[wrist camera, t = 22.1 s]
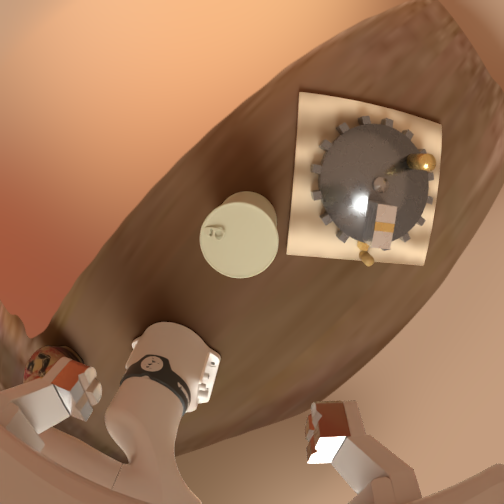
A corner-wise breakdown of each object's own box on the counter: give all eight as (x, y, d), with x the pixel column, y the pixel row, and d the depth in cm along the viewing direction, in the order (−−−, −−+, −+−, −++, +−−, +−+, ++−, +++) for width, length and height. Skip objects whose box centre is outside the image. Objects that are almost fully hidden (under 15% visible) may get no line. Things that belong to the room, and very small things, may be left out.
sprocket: (444, 205, 37) (468, 213, 31) (353, 271, 42) (366, 290, 35) (387, 96, 33) (407, 86, 26) (282, 162, 38) (284, 161, 31)
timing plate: (420, 263, 42) (431, 271, 38) (286, 252, 43) (287, 261, 39) (438, 125, 34) (451, 123, 31) (298, 93, 35) (301, 86, 32)
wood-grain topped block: (379, 241, 38) (390, 249, 34) (362, 239, 38) (371, 247, 34) (386, 202, 36) (397, 206, 32) (368, 199, 36) (378, 203, 33)
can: (227, 183, 40) (210, 190, 29) (285, 202, 41) (291, 217, 29) (210, 239, 43) (189, 265, 32) (265, 257, 44) (263, 290, 32)
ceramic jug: (72, 331, 53) (-1, 410, 24) (103, 380, 57) (50, 463, 28) (38, 336, 55) (-24, 398, 27) (66, 379, 59) (16, 446, 31)
